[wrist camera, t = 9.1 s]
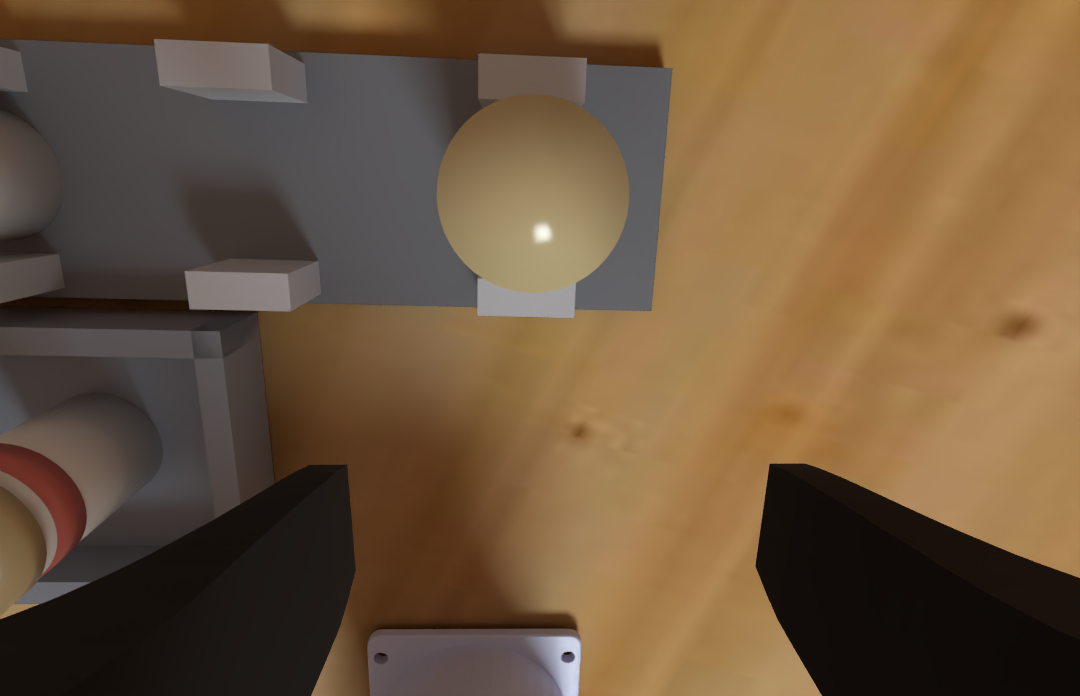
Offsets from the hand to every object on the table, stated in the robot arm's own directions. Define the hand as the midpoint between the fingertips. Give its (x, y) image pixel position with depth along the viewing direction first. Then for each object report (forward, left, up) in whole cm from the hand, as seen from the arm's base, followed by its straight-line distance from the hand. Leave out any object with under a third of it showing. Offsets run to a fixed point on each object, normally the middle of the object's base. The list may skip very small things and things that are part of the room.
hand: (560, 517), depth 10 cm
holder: (+5, +8, -10) cm, 14 cm away
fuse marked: (-3, +14, -9) cm, 17 cm away
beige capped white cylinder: (+5, +1, -9) cm, 10 cm away
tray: (-3, +14, -10) cm, 18 cm away
